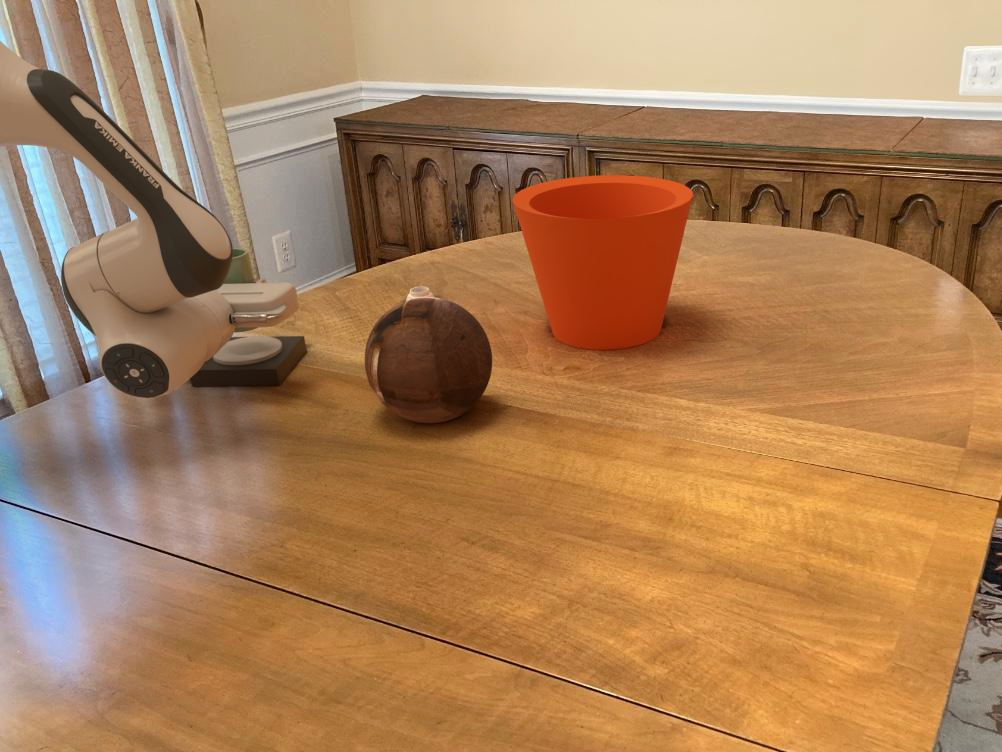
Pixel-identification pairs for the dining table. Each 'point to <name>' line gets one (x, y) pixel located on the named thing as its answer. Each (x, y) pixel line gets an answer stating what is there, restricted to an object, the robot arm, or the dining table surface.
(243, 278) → the cup
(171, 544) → the dining table surface
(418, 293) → the lidless jar
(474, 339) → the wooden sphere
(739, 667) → the dining table surface
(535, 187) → the flowerpot
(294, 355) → the scale
